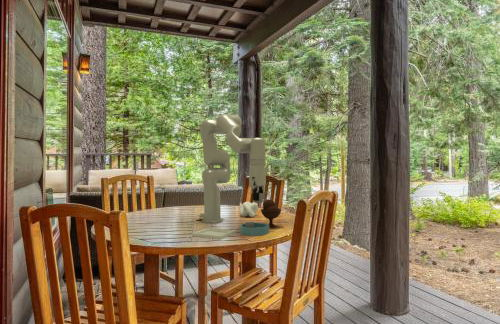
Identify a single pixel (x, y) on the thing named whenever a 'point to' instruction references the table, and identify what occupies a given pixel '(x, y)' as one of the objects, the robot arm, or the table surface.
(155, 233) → the table surface
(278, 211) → the ice cream bowl
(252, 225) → the stone
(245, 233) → the bowl
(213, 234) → the parts tray
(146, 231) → the table surface
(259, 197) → the stone
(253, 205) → the white lumpy chunk
